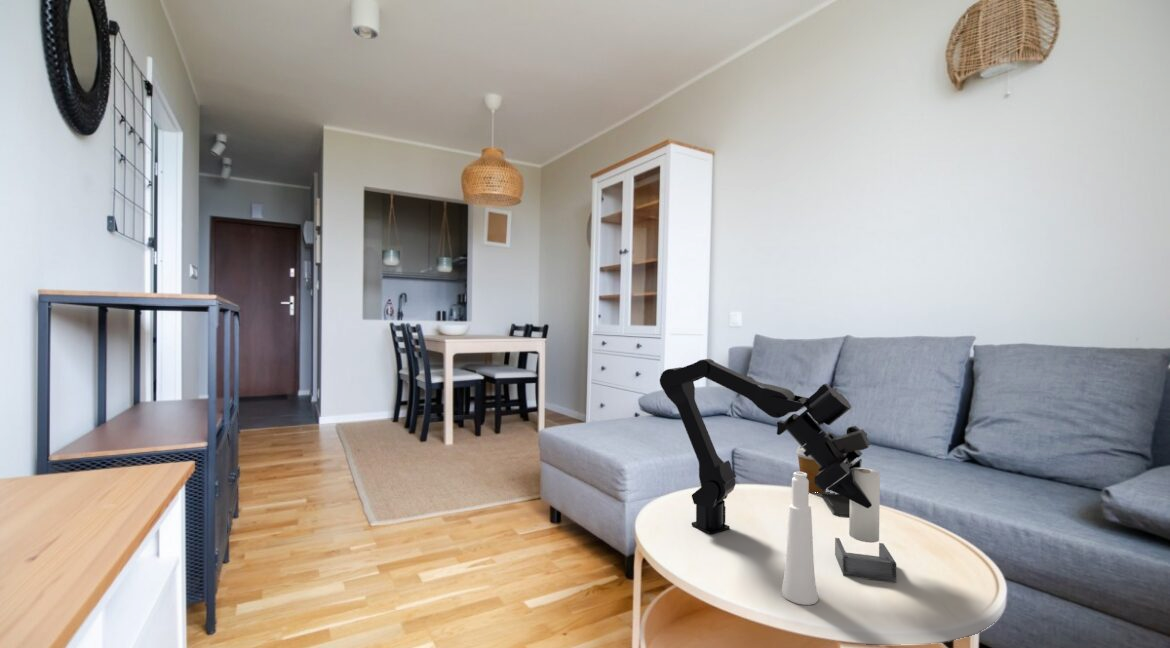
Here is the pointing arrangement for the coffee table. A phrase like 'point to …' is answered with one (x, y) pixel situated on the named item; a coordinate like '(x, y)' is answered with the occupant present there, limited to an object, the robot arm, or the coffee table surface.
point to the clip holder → (866, 564)
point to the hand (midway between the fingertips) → (872, 502)
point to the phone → (837, 504)
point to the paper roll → (860, 517)
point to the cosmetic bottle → (800, 546)
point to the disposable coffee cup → (809, 469)
